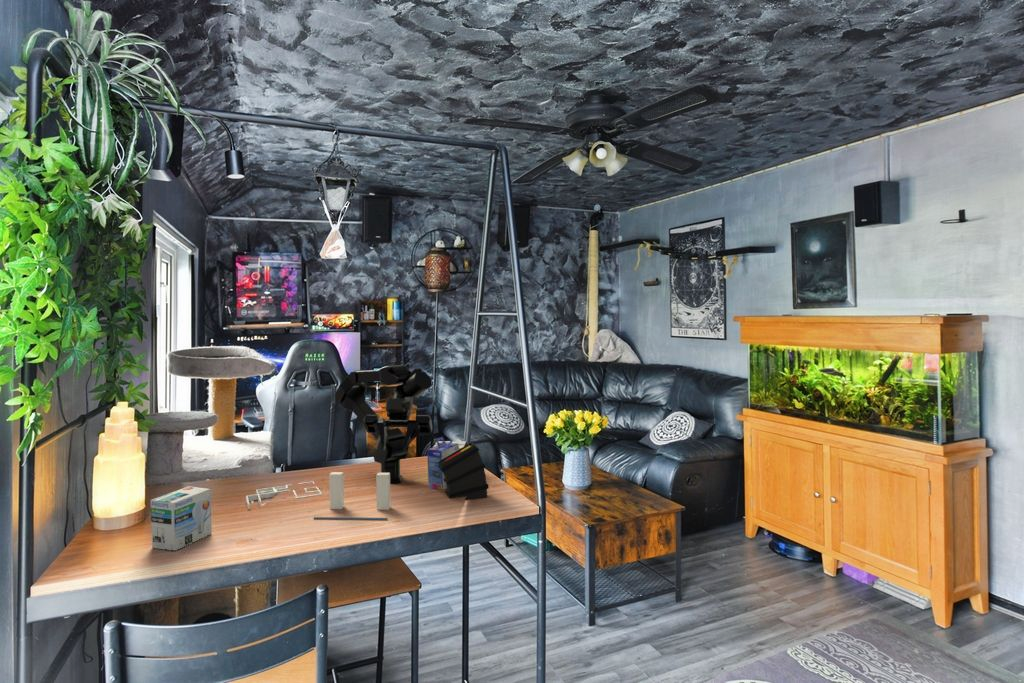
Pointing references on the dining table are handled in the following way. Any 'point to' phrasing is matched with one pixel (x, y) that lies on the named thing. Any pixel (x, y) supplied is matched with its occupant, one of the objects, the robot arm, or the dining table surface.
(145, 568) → the dining table surface
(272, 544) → the dining table surface
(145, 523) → the dining table surface
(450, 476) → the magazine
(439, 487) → the ink cartridge box
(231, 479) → the dining table surface
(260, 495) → the floor plan model
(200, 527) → the light bulb box
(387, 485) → the beige rectangular block
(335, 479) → the cream tall block
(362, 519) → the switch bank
